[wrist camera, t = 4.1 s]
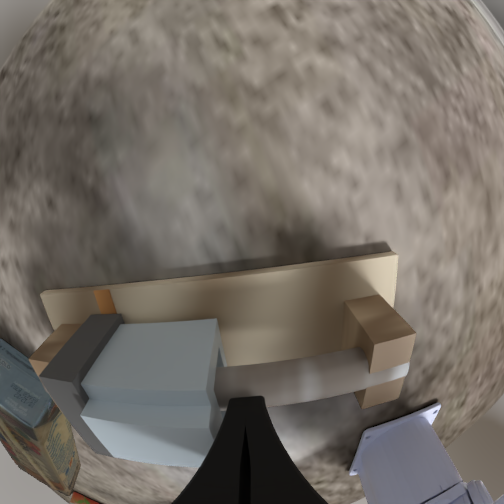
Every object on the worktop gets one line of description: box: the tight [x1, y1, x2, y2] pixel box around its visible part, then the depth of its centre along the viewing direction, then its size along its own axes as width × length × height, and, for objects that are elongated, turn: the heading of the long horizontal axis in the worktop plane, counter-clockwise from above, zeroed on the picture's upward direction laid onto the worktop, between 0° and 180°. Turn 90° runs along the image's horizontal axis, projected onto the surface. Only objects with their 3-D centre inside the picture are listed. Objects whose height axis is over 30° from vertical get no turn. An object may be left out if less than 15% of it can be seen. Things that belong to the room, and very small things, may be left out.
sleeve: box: [80, 318, 227, 467], centre depth 10 cm, size 5×5×6 cm
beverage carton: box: [0, 339, 81, 496], centre depth 14 cm, size 8×19×7 cm, turn 158°
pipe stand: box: [28, 251, 416, 412], centre depth 12 cm, size 20×8×4 cm, turn 97°
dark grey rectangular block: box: [39, 313, 126, 460], centre depth 11 cm, size 2×5×5 cm, turn 6°
